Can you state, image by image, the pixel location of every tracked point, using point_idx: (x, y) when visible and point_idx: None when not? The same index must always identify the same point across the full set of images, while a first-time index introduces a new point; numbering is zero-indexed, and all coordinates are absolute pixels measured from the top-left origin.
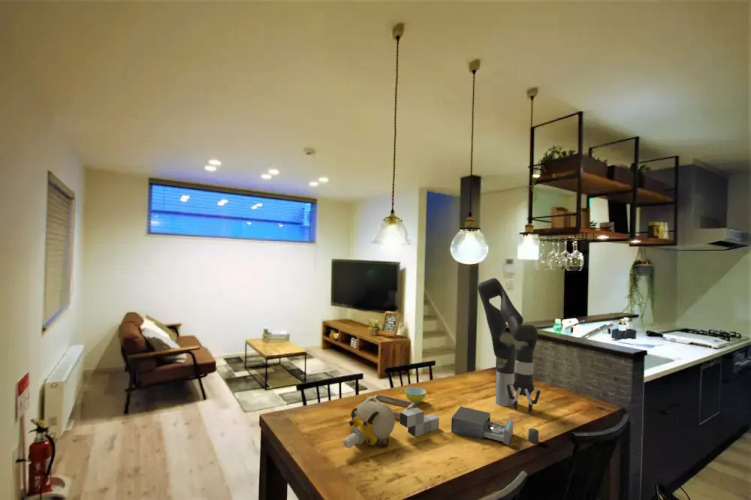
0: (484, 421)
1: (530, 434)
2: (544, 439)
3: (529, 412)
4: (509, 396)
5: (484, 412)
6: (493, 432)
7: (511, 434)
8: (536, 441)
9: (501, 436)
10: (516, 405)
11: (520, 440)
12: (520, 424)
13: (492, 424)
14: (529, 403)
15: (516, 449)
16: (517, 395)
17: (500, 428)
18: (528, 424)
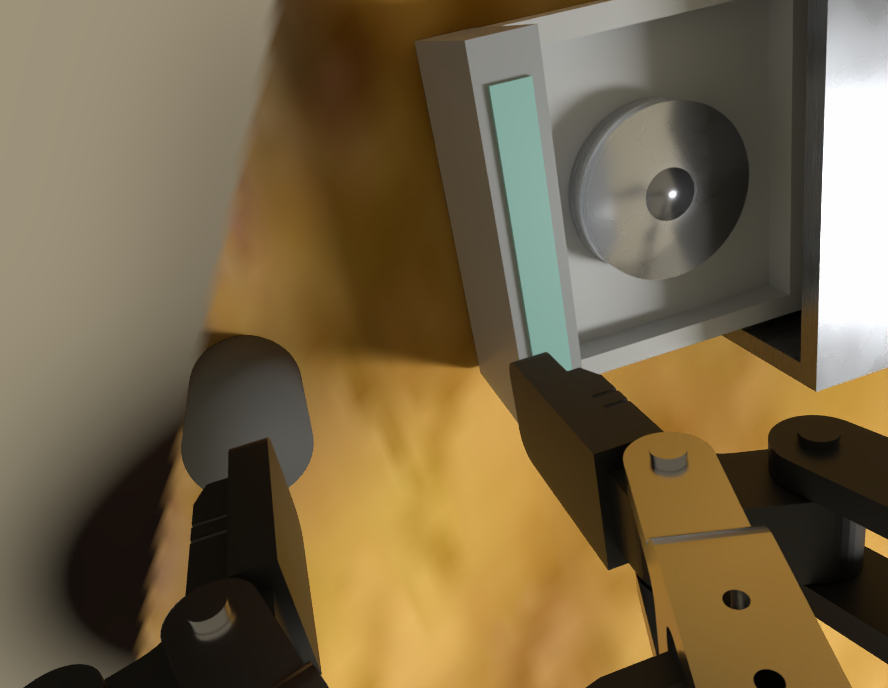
0: (837, 65)
1: (263, 373)
2: (175, 513)
3: (240, 446)
4: (884, 446)
5: (877, 348)
6: (645, 100)
7: (469, 279)
8: (194, 370)
9: (529, 19)
10: (565, 405)
11: (358, 288)
12: (488, 607)
13: (710, 253)
14: (248, 594)
15: (300, 15)
16: (708, 568)
17: (605, 224)
18: (430, 664)
